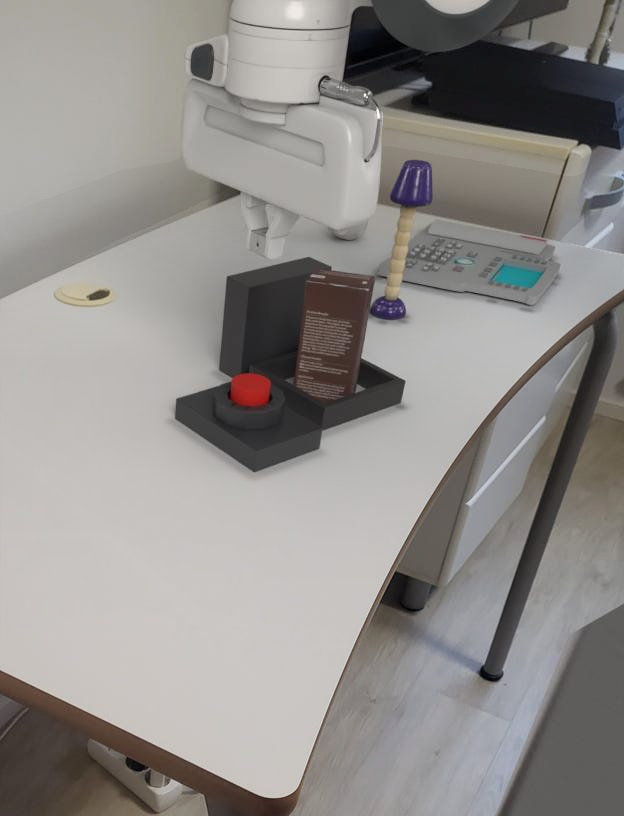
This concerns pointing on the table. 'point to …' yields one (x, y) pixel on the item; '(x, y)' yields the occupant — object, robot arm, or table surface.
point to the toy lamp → (404, 232)
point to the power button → (250, 389)
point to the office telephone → (479, 262)
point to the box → (332, 333)
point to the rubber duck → (350, 232)
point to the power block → (249, 427)
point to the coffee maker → (290, 343)
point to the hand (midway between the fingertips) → (264, 253)
